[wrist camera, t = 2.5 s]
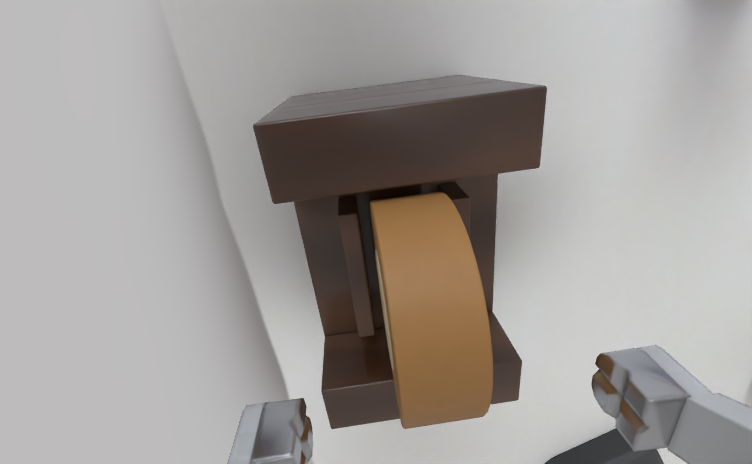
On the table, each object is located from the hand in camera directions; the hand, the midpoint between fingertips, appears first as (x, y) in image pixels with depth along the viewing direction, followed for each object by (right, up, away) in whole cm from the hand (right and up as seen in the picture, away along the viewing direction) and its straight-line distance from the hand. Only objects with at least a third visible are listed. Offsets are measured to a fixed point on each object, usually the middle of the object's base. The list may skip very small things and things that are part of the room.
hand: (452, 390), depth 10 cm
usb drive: (+19, -18, +26) cm, 37 cm away
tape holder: (-1, +6, +12) cm, 13 cm away
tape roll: (-1, +3, +7) cm, 8 cm away
